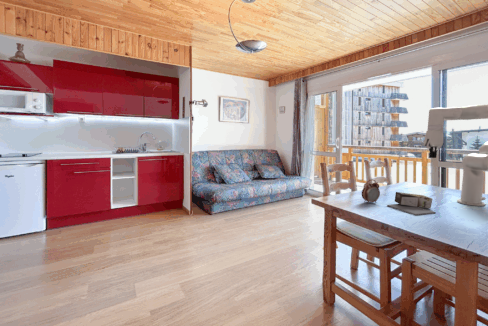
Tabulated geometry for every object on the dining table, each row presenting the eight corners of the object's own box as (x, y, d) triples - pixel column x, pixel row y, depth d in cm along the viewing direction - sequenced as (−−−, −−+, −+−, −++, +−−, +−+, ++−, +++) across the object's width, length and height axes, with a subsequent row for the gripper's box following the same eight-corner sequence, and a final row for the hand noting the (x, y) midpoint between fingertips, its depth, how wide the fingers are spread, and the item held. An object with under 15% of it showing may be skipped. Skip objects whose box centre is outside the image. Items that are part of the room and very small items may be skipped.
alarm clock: (366, 204, 145) (367, 180, 144) (360, 202, 150) (361, 179, 148) (380, 203, 148) (381, 180, 147) (374, 201, 153) (375, 178, 151)
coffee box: (433, 198, 134) (402, 194, 138) (431, 209, 135) (400, 204, 138) (424, 195, 143) (395, 191, 146) (422, 205, 144) (393, 201, 147)
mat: (405, 204, 145) (405, 203, 145) (435, 213, 128) (435, 212, 128) (387, 206, 142) (387, 204, 141) (415, 215, 124) (415, 214, 124)
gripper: (437, 128, 149) (435, 157, 151) (420, 128, 145) (417, 157, 147) (450, 128, 142) (448, 158, 144) (432, 128, 138) (429, 158, 140)
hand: (432, 157), depth 145 cm, fingers closed
